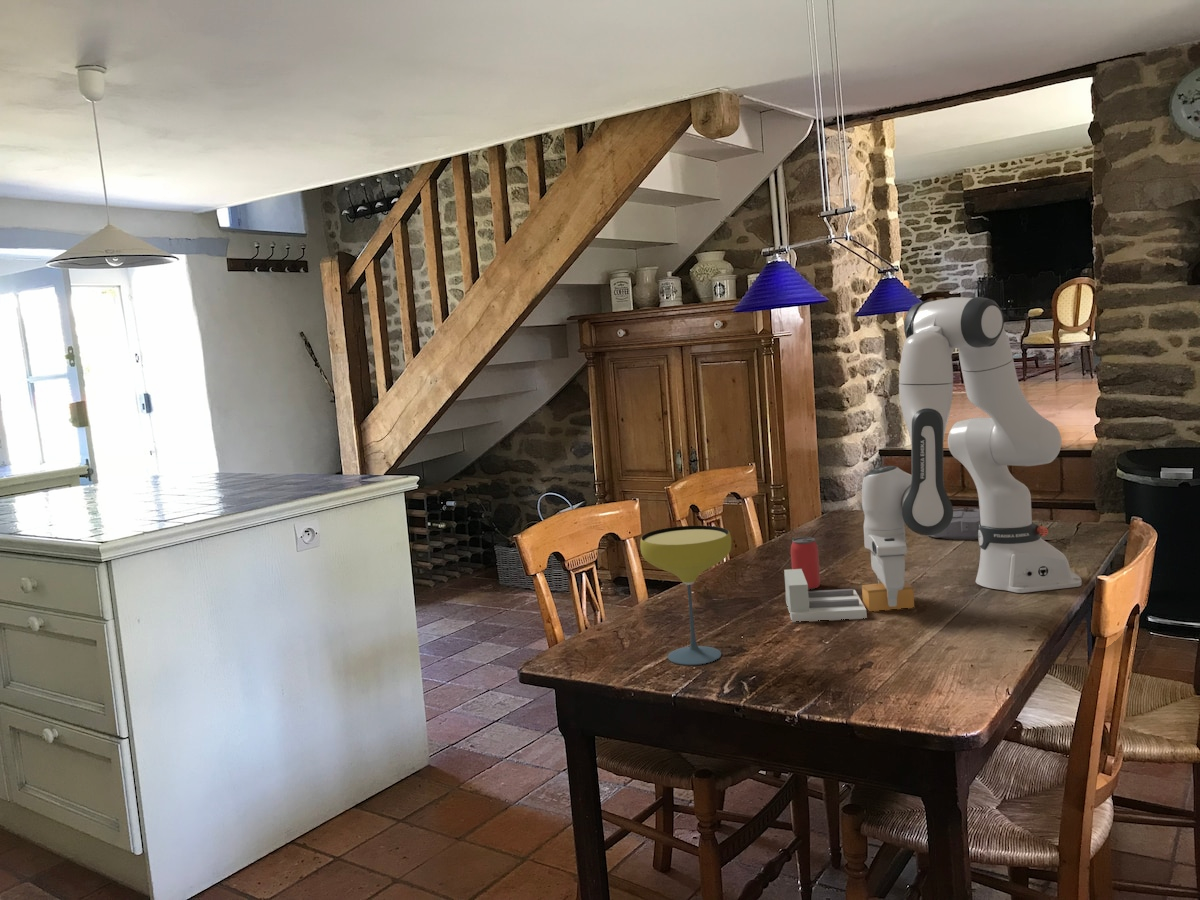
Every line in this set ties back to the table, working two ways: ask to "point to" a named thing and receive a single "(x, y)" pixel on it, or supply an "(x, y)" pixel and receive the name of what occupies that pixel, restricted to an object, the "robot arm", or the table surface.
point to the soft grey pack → (962, 525)
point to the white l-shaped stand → (820, 601)
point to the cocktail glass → (687, 570)
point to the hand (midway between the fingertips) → (888, 599)
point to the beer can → (806, 559)
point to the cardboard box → (878, 596)
